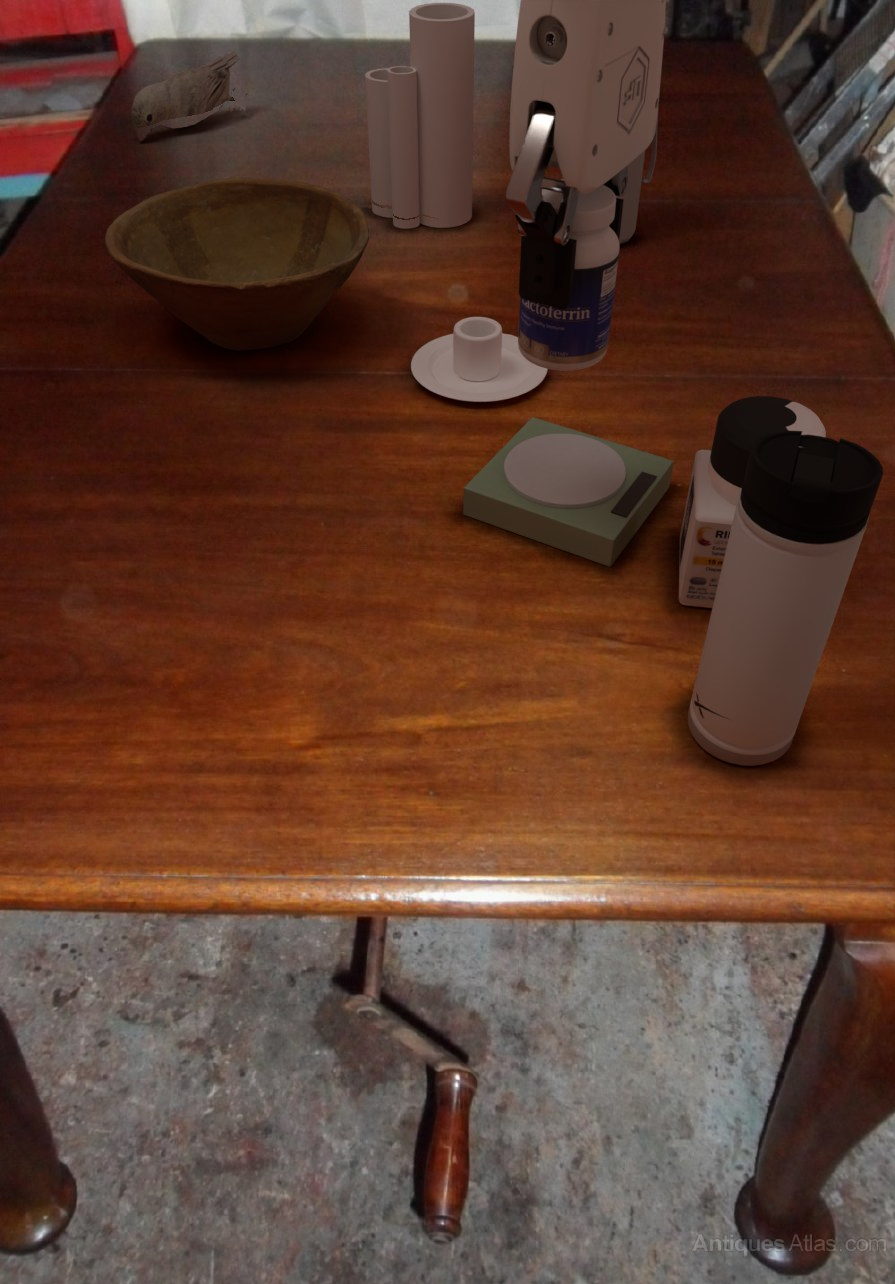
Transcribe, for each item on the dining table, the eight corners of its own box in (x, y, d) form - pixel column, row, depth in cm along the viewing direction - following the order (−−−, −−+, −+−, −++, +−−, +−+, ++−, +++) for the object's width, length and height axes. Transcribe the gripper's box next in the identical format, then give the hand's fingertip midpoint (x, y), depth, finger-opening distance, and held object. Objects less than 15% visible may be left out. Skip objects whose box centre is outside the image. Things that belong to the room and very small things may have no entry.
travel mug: (676, 755, 63) (741, 476, 49) (697, 679, 67) (762, 403, 53) (784, 784, 61) (883, 504, 47) (798, 704, 65) (892, 426, 51)
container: (677, 607, 72) (710, 444, 63) (679, 536, 77) (709, 377, 68) (795, 619, 71) (845, 456, 62) (787, 547, 76) (833, 387, 67)
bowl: (240, 423, 88) (222, 311, 81) (83, 332, 99) (55, 226, 92) (422, 327, 100) (419, 222, 93) (263, 255, 111) (250, 156, 104)
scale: (669, 487, 82) (675, 456, 80) (610, 567, 75) (614, 535, 73) (530, 442, 86) (532, 411, 84) (462, 514, 79) (463, 483, 77)
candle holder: (530, 333, 99) (532, 289, 96) (561, 401, 90) (565, 356, 87) (402, 344, 97) (400, 300, 94) (422, 415, 89) (421, 369, 86)
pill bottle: (505, 364, 66) (511, 204, 60) (533, 323, 70) (542, 169, 63) (593, 381, 65) (611, 219, 58) (617, 339, 69) (636, 182, 62)
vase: (473, 204, 120) (476, 3, 106) (469, 230, 115) (472, 23, 101) (374, 201, 121) (364, 0, 107) (365, 227, 116) (354, 21, 102)
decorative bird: (127, 137, 135) (114, 74, 130) (232, 108, 143) (224, 47, 138) (150, 149, 132) (137, 84, 127) (255, 119, 140) (248, 57, 135)
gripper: (593, -26, 45) (562, 358, 58) (730, -97, 56) (679, 241, 68) (440, -46, 48) (443, 325, 60) (599, -110, 58) (573, 217, 71)
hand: (569, 277), depth 64 cm, fingers closed on pill bottle, 5 cm apart
